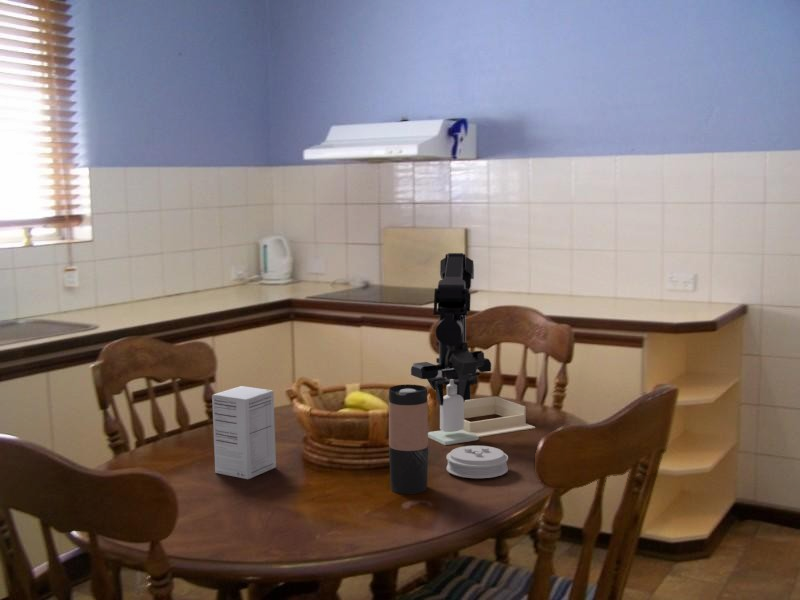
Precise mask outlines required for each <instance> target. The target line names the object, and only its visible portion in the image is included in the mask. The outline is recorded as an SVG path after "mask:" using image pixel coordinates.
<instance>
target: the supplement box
mask: <svg viewBox="0 0 800 600" xmlns="http://www.w3.org/2000/svg"><path fill="white" fill-rule="evenodd" d="M274 393H275V392H274V390H271V389H266V388H265V389H264V388H258V387H251V386H244V385H240V386H237V387H233V388H229V389H227V390H223V391H221V392H217V393H214V394H212V395H211V402H212V424H213V427H212V428H213V449H214V450H213V451H214V453H213V454H214V470H215V471H214V473H215V474H219V475H225V476H229V477H230V476H231V477H234V478H239V479H243V480H244V479H245V480H250V479H253V478H255V477H257V476H259V475H261V474H264V473H266V472H268V471H271V470H273V469H275V468H277V463H276V461H277V459H276V458H277V457H276V431H275V430H276V429H275V428H276V427H275V399H274V397H275V395H274Z"/></svg>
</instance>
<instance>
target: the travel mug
mask: <svg viewBox="0 0 800 600" xmlns="http://www.w3.org/2000/svg"><path fill="white" fill-rule="evenodd" d="M428 404H429V403H428V387H426V386H424V385H420V384H396V385H392V386H390V387H389V388H388V451H389V452H388V453H389V474H390V475H389V476H390V477H389V478H390V480H389V481H390V489H391V491H393V492H394V493H397V494H401V495H416V494H421V493H424V492H425V491H427V488H428V473H429V472H428V470H429V469H428V468H429V467H428V465H429V463H428V462H429V437H428V432H429V416H428V415H429V411H428V410H429V408H428Z"/></svg>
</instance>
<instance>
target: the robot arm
mask: <svg viewBox="0 0 800 600" xmlns="http://www.w3.org/2000/svg"><path fill="white" fill-rule="evenodd" d="M474 264H475V263H474V260H473V259H471V258H469V257H467V254H466V253H463V252H455V253H454V252H448V253H445V256H444V258H442V259H441V260H440V265H439V266H440V267H439V268H440V269H439V275H440V280H439V281H438V284H437V288H434V297H433V316H439V317H438V324H437V325H436V329H435V335H436V338H437V340H436V341H435V343H436V344H435V345H436V346H438V355H439V357H437V358H436V360H435V361H436V362H435V363H437V364H434V363H430V362H427V361H423V362H414V363H413V364H412V365H411V368H410V375H411V376H413V377H416V378H418V379H420V380H427V382H428V383H429V386H430V387H431V388H433V389H434V390H436V396H435V399H436V400H437V403H438V404H439V406H440V405H443V397H444V385H448V384H449V383H450V379H453V381H454V384H455V385H457V395H460V396H462V397H463V400H464V401H465V400H471V386H475V385H477V384H478V377H479V376H481V373H485V372H491V371H492V362H491V360H490V359H489V358H486V357H485V353H484V351H482V350H476V351H470V350H469V348H468V342H467V328H466V327H467V320H466V319H467V315H468V312H471V299H472V298H471V297H472V295H471V294H472V293H470V289H471V287H472V280H474V279H475V265H474ZM478 371H479V372H478ZM433 389H432V390H433Z"/></svg>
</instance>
